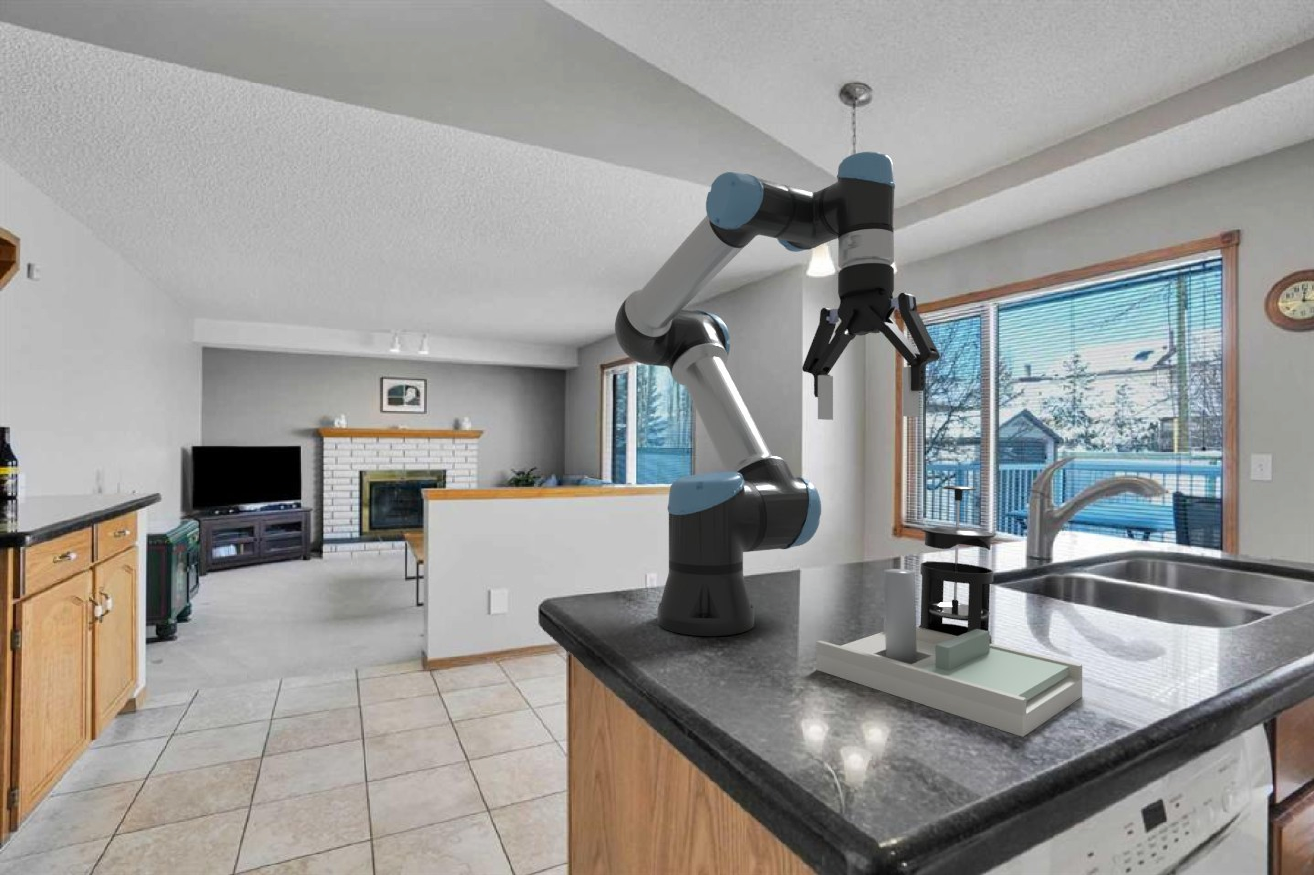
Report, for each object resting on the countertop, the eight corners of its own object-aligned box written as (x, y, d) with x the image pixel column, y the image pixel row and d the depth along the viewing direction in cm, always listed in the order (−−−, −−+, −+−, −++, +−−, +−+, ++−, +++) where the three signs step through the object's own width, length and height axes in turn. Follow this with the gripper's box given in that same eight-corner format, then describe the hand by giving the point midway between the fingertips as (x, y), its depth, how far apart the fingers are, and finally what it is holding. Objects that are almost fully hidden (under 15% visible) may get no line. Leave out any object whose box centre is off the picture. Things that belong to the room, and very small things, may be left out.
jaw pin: (880, 668, 81) (878, 571, 81) (896, 662, 83) (894, 567, 84) (906, 675, 78) (904, 575, 78) (922, 669, 80) (920, 571, 81)
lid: (920, 678, 72) (920, 646, 72) (977, 653, 80) (977, 624, 80) (1017, 706, 64) (1017, 670, 64) (1068, 675, 73) (1068, 644, 73)
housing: (816, 669, 81) (816, 641, 81) (886, 644, 91) (886, 619, 91) (1023, 736, 62) (1022, 700, 62) (1082, 696, 73) (1082, 664, 73)
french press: (1012, 669, 83) (1017, 489, 84) (943, 670, 82) (949, 487, 82) (957, 642, 95) (962, 484, 95) (897, 642, 94) (902, 482, 94)
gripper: (779, 280, 99) (779, 419, 99) (938, 241, 80) (938, 414, 80) (810, 288, 104) (810, 421, 104) (966, 252, 85) (967, 416, 84)
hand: (865, 418), depth 92 cm, fingers open, 13 cm apart
